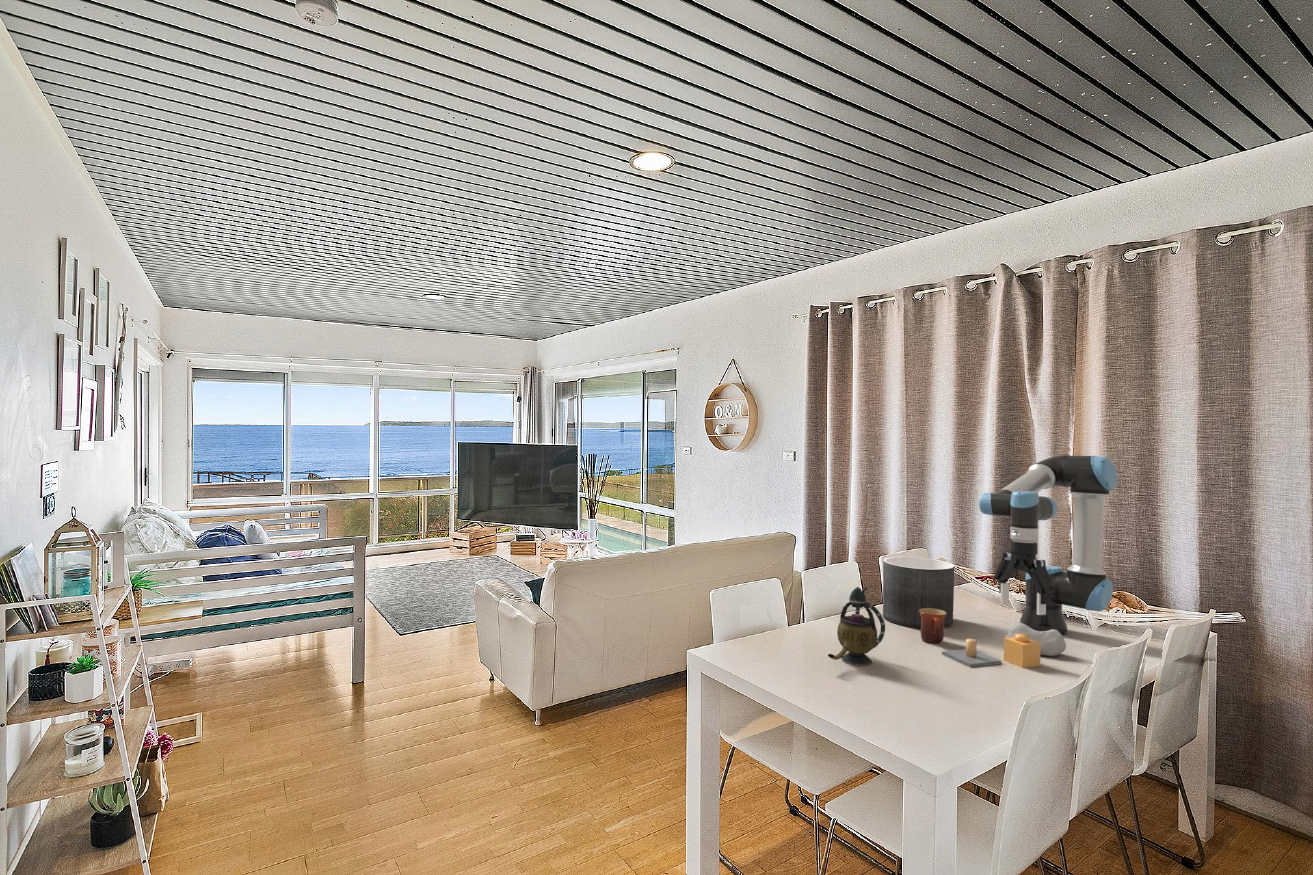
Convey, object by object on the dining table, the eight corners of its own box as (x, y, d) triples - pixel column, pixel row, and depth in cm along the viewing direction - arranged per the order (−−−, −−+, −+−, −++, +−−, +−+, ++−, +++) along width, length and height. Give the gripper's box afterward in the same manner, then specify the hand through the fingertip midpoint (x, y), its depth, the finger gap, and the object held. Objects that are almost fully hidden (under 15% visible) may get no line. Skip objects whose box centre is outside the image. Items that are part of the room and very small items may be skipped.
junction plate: (971, 651, 212) (972, 633, 212) (1001, 663, 200) (1001, 644, 200) (941, 654, 208) (942, 635, 208) (970, 667, 197) (970, 647, 197)
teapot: (888, 659, 203) (889, 585, 203) (849, 679, 185) (850, 598, 185) (852, 649, 211) (853, 579, 211) (812, 668, 193) (813, 591, 194)
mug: (916, 636, 227) (916, 607, 227) (942, 638, 226) (943, 609, 226) (923, 647, 216) (923, 616, 216) (951, 649, 214) (951, 618, 214)
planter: (965, 630, 236) (966, 570, 236) (895, 628, 236) (896, 568, 236) (936, 611, 261) (937, 557, 261) (873, 610, 261) (874, 556, 262)
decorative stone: (1000, 642, 214) (1007, 614, 218) (1004, 652, 220) (1010, 625, 224) (1062, 658, 203) (1067, 628, 207) (1063, 669, 209) (1069, 640, 213)
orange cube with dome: (1021, 658, 206) (1021, 631, 206) (1040, 665, 199) (1040, 637, 199) (1003, 660, 204) (1004, 632, 204) (1022, 667, 197) (1022, 639, 197)
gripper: (982, 535, 212) (981, 599, 212) (1049, 547, 189) (1048, 620, 188) (1001, 534, 215) (999, 598, 214) (1069, 547, 191) (1067, 618, 191)
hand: (1022, 608), depth 201 cm, fingers open, 13 cm apart
